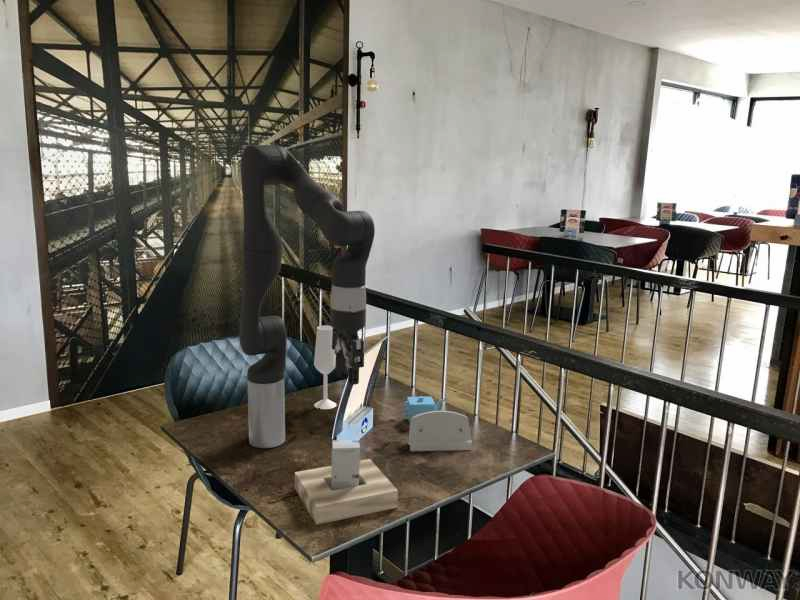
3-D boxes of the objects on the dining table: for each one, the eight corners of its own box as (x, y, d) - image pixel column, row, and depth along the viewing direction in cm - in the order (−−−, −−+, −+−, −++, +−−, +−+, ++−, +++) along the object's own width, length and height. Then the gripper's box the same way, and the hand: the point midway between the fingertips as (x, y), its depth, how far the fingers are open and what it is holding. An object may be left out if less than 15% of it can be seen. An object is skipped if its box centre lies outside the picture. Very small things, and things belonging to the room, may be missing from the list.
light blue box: (442, 417, 190) (443, 392, 188) (446, 425, 184) (447, 400, 182) (401, 418, 189) (402, 393, 187) (403, 426, 183) (404, 401, 181)
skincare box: (331, 501, 141) (331, 448, 138) (330, 490, 145) (330, 439, 143) (359, 499, 142) (360, 447, 139) (358, 489, 146) (359, 439, 144)
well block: (295, 488, 147) (294, 472, 146) (369, 474, 154) (369, 458, 153) (316, 524, 133) (316, 506, 132) (397, 507, 140) (397, 490, 139)
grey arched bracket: (409, 451, 167) (408, 411, 168) (407, 449, 172) (406, 410, 173) (473, 449, 169) (472, 410, 170) (469, 448, 174) (469, 409, 175)
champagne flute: (341, 405, 197) (341, 327, 192) (324, 411, 192) (323, 331, 187) (326, 399, 201) (326, 323, 196) (309, 404, 197) (309, 327, 192)
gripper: (321, 298, 144) (320, 368, 148) (342, 314, 132) (340, 390, 135) (353, 296, 147) (352, 365, 151) (377, 312, 135) (374, 386, 138)
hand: (346, 377), depth 143 cm, fingers open, 8 cm apart
